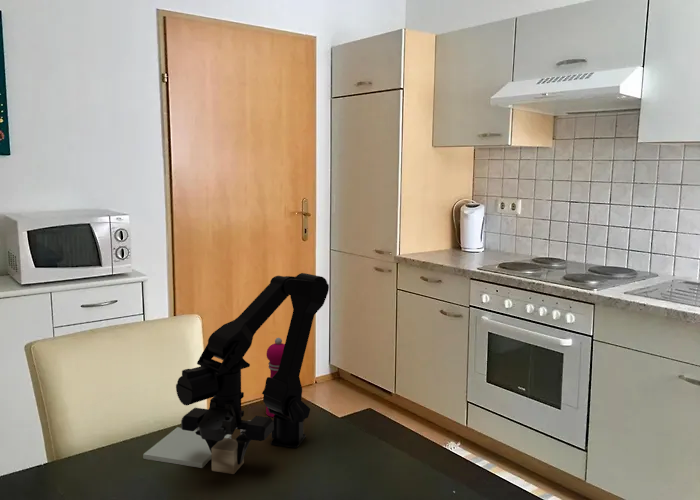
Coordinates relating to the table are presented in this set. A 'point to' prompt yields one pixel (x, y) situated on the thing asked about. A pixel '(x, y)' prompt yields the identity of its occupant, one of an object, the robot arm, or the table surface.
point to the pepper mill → (274, 360)
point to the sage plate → (181, 449)
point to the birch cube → (225, 456)
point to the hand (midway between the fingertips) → (227, 461)
